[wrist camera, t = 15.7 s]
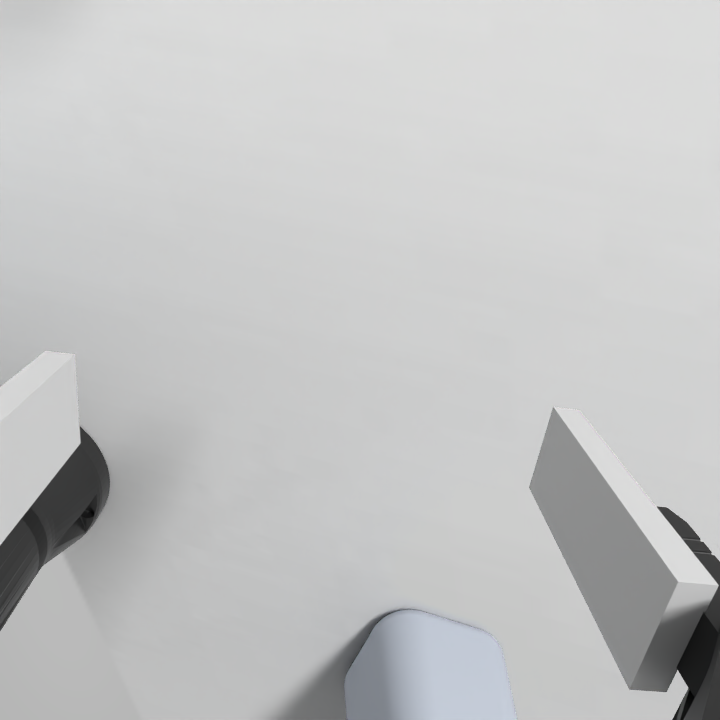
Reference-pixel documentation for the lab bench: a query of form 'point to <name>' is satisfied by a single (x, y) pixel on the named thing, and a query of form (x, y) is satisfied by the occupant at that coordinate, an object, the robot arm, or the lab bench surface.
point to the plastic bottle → (428, 672)
